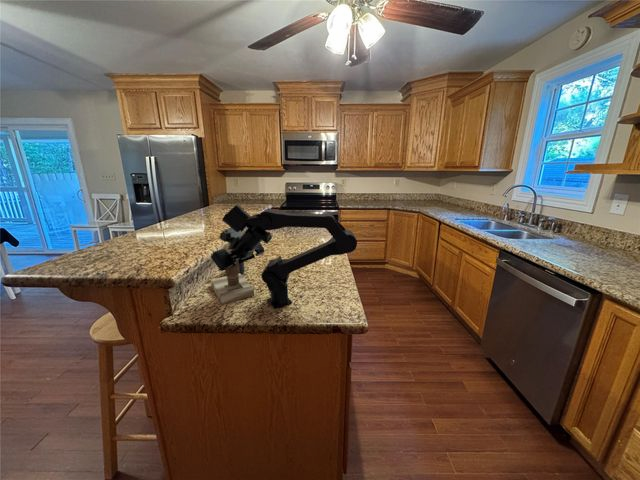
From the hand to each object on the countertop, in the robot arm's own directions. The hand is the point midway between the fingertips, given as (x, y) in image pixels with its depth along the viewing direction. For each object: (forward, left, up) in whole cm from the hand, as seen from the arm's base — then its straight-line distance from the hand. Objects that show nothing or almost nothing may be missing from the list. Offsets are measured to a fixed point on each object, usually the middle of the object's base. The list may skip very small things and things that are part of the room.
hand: (229, 266), depth 87 cm
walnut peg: (-1, -1, -6) cm, 7 cm away
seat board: (+1, -1, -10) cm, 10 cm away
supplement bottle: (+16, -7, -10) cm, 20 cm away
